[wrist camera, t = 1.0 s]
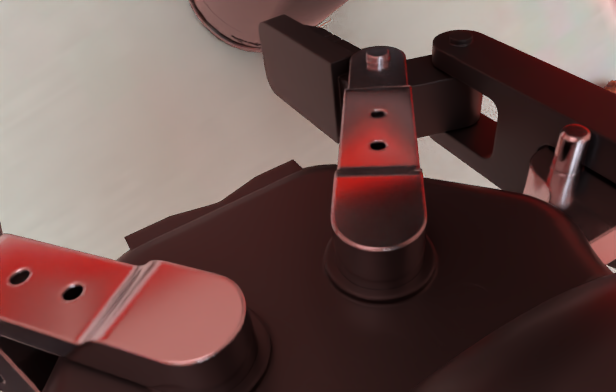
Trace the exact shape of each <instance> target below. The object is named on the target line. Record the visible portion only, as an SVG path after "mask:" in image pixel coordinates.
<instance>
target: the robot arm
mask: <svg viewBox="0 0 616 392" xmlns="http://www.w3.org/2000/svg"><path fill="white" fill-rule="evenodd" d="M188 1H189V3H190V5H191V7H192V9H193V11H194V13H195V14H196V16H197V17H198V19H199V20H200V21H201V22H202V24H203V25H204V26H205V27H206V28H207V29H208V30H209V31H210V32H211V33H212V34H214V35H215V36H216V37H218V38H219V39H220V40H222V41H224V42H225V43H227V44H229V45H231V46H233V47H236V48H239V49H242V50H246V51H251V52H262V54H263V59H264V65H265V70H266V75H267V79H268V82H269V84H270V86H271V88H272V90H273V91H274V93H275V94H276V95H277V96H279V97H280V98H281V99H282V100H284V101H285V102H286V103H287V104H289V105H290V106H291V107H292V108H294V109H295V110H296V111H297V112H299V113H300V114H301V115H302V116H304V117H305V118H306V119H307V120H309V121H310V122H311V123H313V124H314V125H315V126H316V127H318V128H319V129H320V130H321V131H323V132H324V133H325V134H326V135H328V136H329V137H330V138H331V139H333V140H334V141H335V142H336V143H338V144H339V143H340V144H339V156H338V165H336V164H332V165H317V166H311V167H306V168H302V167H301V166H299V165H298V164H297V163H296V162H295V161H294V160H291V161H289V162H286V163H284V164H282V165H280V166H278V167H276V168H273V169H271V170H269V171H267V172H265V173H263V174H260V175H258V176H256V177H254V178H253V179H252V180H250V181H249V182H247V183H246V184H244V185H243V186H242V187H240V188H239V189H237V190H236V191H235V192H233V193H232V194H230V195H229V196H228V197H226V198H225V199H223V200H222V201H220V202H218V203H215V204H212V205H209V206H205V207H201V208H198V209H194V210H191V211H187V212H183V213H180V214H176V215H173V216H169V217H167V218H165V219H163V220H161V221H158V222H156V223H154V224H152V225H150V226H148V227H145V228H143V229H141V230H139V231H137V232H135V233H132V234H130V235H128V236H126V237H125V239H126V242H127V244H128V246H129V248H130V250H129V251H127V252H126V253H124V254H123V255H122V256H121V257H120V258H118V259H117V260H112V259H108V258H104V257H100V256H96V255H92V254H88V253H84V252H80V251H76V250H72V249H68V248H64V247H60V246H56V245H53V244H49V243H45V242H41V241H37V240H33V239H29V238H25V237H21V236H17V235H13V234H8V233H4V234H3V233H2V228H1V223H0V391H2V392H616V273H613V272H612V271H611V270H610V269H609V268H608V267H607V266H606V265H608V266H610V267H613V268H616V94H615V93H613V92H610V91H608V90H606V89H604V88H601V87H599V86H597V85H595V84H593V83H590V82H588V81H586V80H584V79H582V78H579V77H577V76H575V75H573V74H570V73H568V72H566V71H564V70H562V69H559V68H557V67H555V66H553V65H550V64H548V63H546V62H544V61H542V60H539V59H537V58H535V57H533V56H530V55H528V54H526V53H524V52H522V51H519V50H517V49H515V48H513V47H511V46H508V45H506V44H504V43H502V42H499V41H497V40H495V39H493V38H491V37H488V36H486V35H484V34H482V33H479V32H476V31H470V30H453V31H448V32H444V33H442V34H439V35H438V36H436V37H435V38H434V40H433V47H432V55H428V56H423V57H418V58H413V59H408V60H406V56H405V54H404V52H402V51H401V50H399V49H397V48H394V47H389V46H373V47H368V48H364V49H362V50H361V49H360V48H358V47H356V46H354V45H352V44H350V43H349V42H347V41H345V40H341V38H339V37H338V36H336V35H332V33H330V32H328V31H326V30H325V29H323V28H320V27H321V26H322V25H324V24H326V23H328V22H329V21H330V20H329V21H328V22H326V23H324V24H322V25H320V26H318V27H316V26H317V25H318V24H320V23H321V22H322V21H323V20H325V19H326V18H327V17H328V16H330V15H331V14H332V13H333V12H334V11H336V10H337V9H338V8H339V7H341V6H342V5H343V4H344V3H346V2H347V1H348V0H188ZM331 20H332V19H331ZM483 95H485V96H487V97H489V98H490V99H491V100H492V101H493V102H494V103H495V105H496V107H497V110H498V120H497V122H495V121H493V120H492V119H490V118H488V117H487V116H485V115H483V114H482V113H480V112H481V104H482V96H483ZM424 136H430V137H431V138H432V139H433V140H434V141H435V142H437V143H438V144H440V145H441V146H442V147H444V148H445V149H447V150H448V151H449V152H451V153H452V154H453V155H455V156H456V157H458V158H459V159H460V160H462V161H463V162H464V163H466V164H467V165H469V166H470V167H471V168H473V169H474V170H475V171H477V172H478V173H480V174H481V175H482V176H484V177H485V178H487V179H488V180H489V181H491V182H492V183H493V184H495V185H496V186H498V187H499V188H500V189H502V190H499V189H493V188H487V187H480V186H474V185H468V184H461V183H455V182H449V181H443V180H436V179H430V178H424V177H423V173H422V169H420V164H419V154H418V145H417V138H420V137H424Z"/></svg>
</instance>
